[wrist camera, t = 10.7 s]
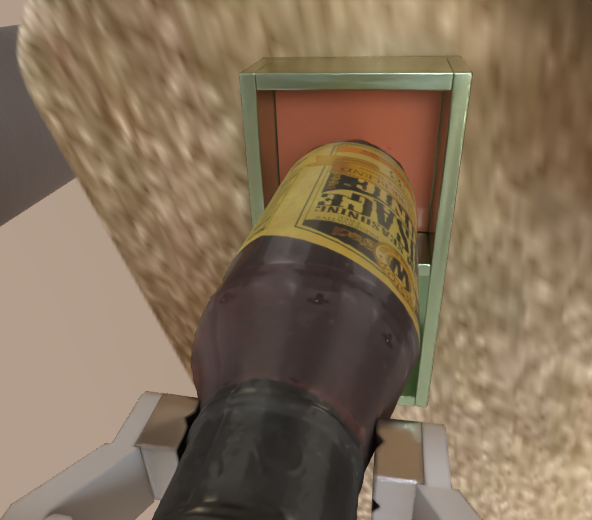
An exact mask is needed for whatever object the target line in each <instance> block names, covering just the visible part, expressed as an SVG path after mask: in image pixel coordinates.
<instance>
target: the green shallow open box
mask: <svg viewBox="0 0 592 520" xmlns="http://www.w3.org/2000/svg"><path fill="white" fill-rule="evenodd" d="M472 76H473V73H472V71H471V70H470V68H469V67H468V65H467V64H466V62H465V61H464V60H463V58H462V56H381V57H272V58H262V59H260V60H259V61H257V62H256V63H254V64H253V65H251V66H250V67H248V68H247V69H245V70H244V71H242V72H241V73H239V79H240V91H241V102H242V114H243V126H244V137H245V149H246V160H247V172H248V184H249V195H250V207H251V218H252V229H253V228H254V226H255V225H256V223H257V221H258V220H259V218H260V217H261V215H262V214H263V212H264V211H265V209H266V207H267V206H268V204H269V203H270V201H271V199H272V198H273V196H274V194H275V193H276V191H277V190H278V188H279V186H280V185H281V183H282V181H283V180H284V179H285V177H286V175H287V173H288V172H289V171H290V169H291V168H292V167H293V166H294V164H295V163H296V162H297V161H298V160H299V159H301V158H302V157H303V156H304V155H306V154H307V153H308V152H309V151H310V150H312V149H313V148H315V147H318V146H320V145H323V144H326V143H328V142H333V141H336V140H346V139H347V140H353V139H362V140H364V141H367V142H369V143H371V144H373V145H376V146H378V147H379V148H381V149H383V150H384V151H386V152H387V153H389V154H390V155H391V156H393V157H394V158H395V159H396V160H397V161H399V162H400V164H401V165H402V167H403V169H404V170H405V174H406V176H407V177H408V178H409V181H410V184H411V186H412V189H413V192H414V195H415V201H416V220H417V244H418V254H417V256H418V270H419V274H418V280H419V282H418V284H419V313H420V320H419V325H420V351H419V358H418V360H417V363H416V365H415V367H414V369H413V370H412V373H411V375H410V377H409V379H408V381H407V383H406V385H405V387H404V390H403V392H402V394H401V396H400V398H399V400H398V402H397V405H407V406H419V407H427V405H428V397H429V390H430V383H431V376H432V368H433V361H434V354H435V346H436V339H437V332H438V324H439V317H440V310H441V302H442V295H443V288H444V281H445V273H446V266H447V259H448V251H449V244H450V237H451V229H452V222H453V215H454V207H455V200H456V193H457V186H458V178H459V171H460V164H461V156H462V149H463V142H464V134H465V127H466V120H467V112H468V105H469V98H470V90H471V83H472Z"/></svg>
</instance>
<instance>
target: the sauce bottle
mask: <svg viewBox="0 0 592 520" xmlns="http://www.w3.org/2000/svg"><path fill="white" fill-rule="evenodd" d="M417 254H418V244H417V220H416V201H415V195H414V192H413V189H412V186H411V184H410V181H409V178H408V177H407V176H406V174H405V170H404V169H403V167H402V165H401V164H400V162H399V161H397V160H396V159H395V158H394V157H393V156H391V155H390V154H389V153H387V152H386V151H384V150H383V149H381V148H379V147H378V146H376V145H373V144H371V143H369V142H367V141H364V140H362V139H353V140H347V139H346V140H336V141H333V142H328V143H326V144H323V145H320V146H318V147H315V148H313V149H312V150H310V151H309V152H308V153H307V154H306V155H304V156H303V157H302V158H301V159H299V160H298V161H297V162H296V163H295V164H294V166H293V167H292V168H291V169H290V171H289V172H288V173H287V175H286V177H285V179H284V180H283V181H282V183H281V185H280V186H279V188H278V190H277V191H276V193H275V194H274V196H273V198H272V199H271V201H270V203H269V204H268V206H267V207H266V209H265V211H264V212H263V214H262V215H261V217H260V218H259V220H258V221H257V223H256V225H255V226H254V228H253V229H252V231H251V232H250V234H249V235H248V237H247V238H246V240H245V241H244V243H243V244H242V246H241V247H240V249H239V251H238V252H237V254H236V255H235V257H234V258H233V260H232V262H231V263H230V265H229V266H228V268H227V271H226V274H225V276H224V279H223V283H222V284H221V286H220V287H219V288H218V289H217V291H216V292H215V293H214V294H213V295H212V296H211V297H210V300H209V302H208V304H207V306H206V308H205V310H204V312H203V314H202V316H201V319H200V321H199V324H198V328H197V330H196V333H195V339H194V344H193V347H192V354H191V369H192V374H193V381H194V384H195V387H196V390H197V395H198V398H200V400H201V402H200V414H199V415H198V417H197V418H196V419H195V421H194V422H193V424H192V426H191V428H190V430H189V434H188V437H187V440H186V445H187V447H186V450H185V452H184V453H183V455H182V457H181V460H180V462H179V463H178V465H177V468H176V471H175V473H174V475H173V477H172V479H171V481H170V483H169V485H168V487H167V489H166V491H165V493H164V495H163V497H162V499H161V501H160V504H159V506H158V508H157V510H156V512H155V514H154V516H153V519H152V520H357V506H358V495H359V493H360V491H361V488H362V484H363V479H364V472H365V470H366V468H367V466H368V464H369V462H370V460H371V458H372V456H373V453H374V451H375V440H376V426H377V419H378V418H386V419H390V417H391V415H392V413H393V411H394V409H395V407H396V404H397V402H398V400H399V398H400V396H401V394H402V392H403V390H404V387H405V385H406V383H407V381H408V379H409V377H410V375H411V373H412V370H413V369H414V367H415V365H416V363H417V360H418V358H419V351H420V325H419V320H420V313H419V284H418V282H419V280H418V274H419V270H418V256H417Z"/></svg>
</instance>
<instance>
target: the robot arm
mask: <svg viewBox="0 0 592 520" xmlns="http://www.w3.org/2000/svg"><path fill="white" fill-rule="evenodd" d="M200 402H201V400H200V398H195V397H188V396H180V395H173V394H164V393H156V392H149V391H146V392H145V393H144V394H142V395H141V396H140V398H139V399H138V401H137V403H136V405H135V406H134V408H133V409H132V411H131V413H130V414H129V416H128V418H127V419H126V421H125V422H124V424H123V426H122V428H121V429H120V431H119V432H118V434H117V436H116V437H115V439H114V440H113V442H112V444H110V443H105V444H104V445H102V446H101V447H99V448H98V449H96V450H94V451H93V452H91V453H90V454H88V455H87V456H85V457H83V458H82V459H80V460H79V461H77V462H76V463H74V464H73V465H71V466H70V467H68V468H66V469H65V470H63V471H62V472H61V473H59V474H57V475H56V476H54V477H53V478H51V479H49V480H48V481H46V482H45V483H44V484H42V485H40V486H39V487H37V488H35V489H34V490H33V491H31V492H29V493H28V494H27V495H25V496H23V497H22V498H20V499H18V500H17V501H15V502H14V503H12V504H11V505H10V506H9V508H8V509H7V510H6V512H5V513H4V514H3V516H2V517H1V519H0V520H135V519H136V518H137V517H138V516H139V515H140V514H142V513H143V512H144V511H145V510H146V509H147V508H148V507H149V506H150V505H151V504H152V503H153V502H154V499H155V500H161V499H162V497H163V495H164V493H165V491H166V489H167V487H168V485H169V483H170V481H171V479H172V477H173V475H174V473H175V471H176V468H177V465H178V463H179V462H180V460H181V457H182V455H183V453H184V452H185V450H186V447H187V445H186V440H187V437H188V434H189V430H190V428H191V426H192V424H193V422H194V421H195V419H196V418H197V417H198V415H199V414H200ZM371 520H482V519H481V518H480V516H479V515H478V514H477V512H476V511H475V510H474V508H473V507H472V506H471V505H470V503H469V502H468V501H467V499H466V498H465V497H464V496H463V494H462V493H461V492H460V490H457V489H452V484H451V475H450V465H449V455H448V446H447V436H446V428H445V426H444V425H443V424H434V423H424V422H421V423H420V422H416V421H406V420H396V419H386V418H378V419H377V426H376V440H375V454H374V471H373V491H372V510H371Z"/></svg>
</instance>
